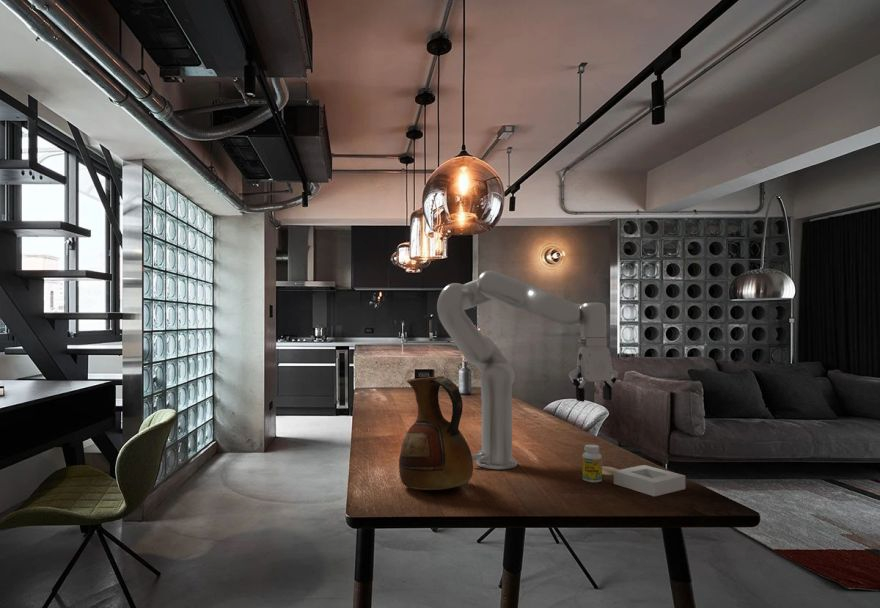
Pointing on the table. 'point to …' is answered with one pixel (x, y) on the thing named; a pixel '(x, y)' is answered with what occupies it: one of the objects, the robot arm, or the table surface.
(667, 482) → the socket block
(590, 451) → the supplement bottle
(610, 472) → the cork coaster
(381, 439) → the table surface
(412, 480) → the ceramic pitcher
